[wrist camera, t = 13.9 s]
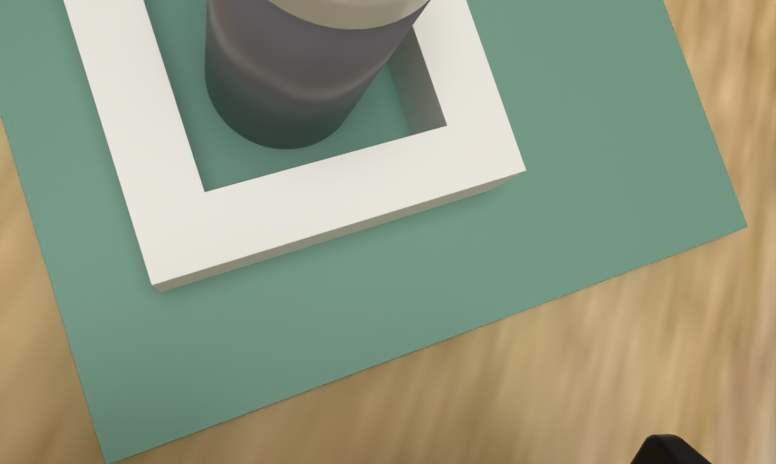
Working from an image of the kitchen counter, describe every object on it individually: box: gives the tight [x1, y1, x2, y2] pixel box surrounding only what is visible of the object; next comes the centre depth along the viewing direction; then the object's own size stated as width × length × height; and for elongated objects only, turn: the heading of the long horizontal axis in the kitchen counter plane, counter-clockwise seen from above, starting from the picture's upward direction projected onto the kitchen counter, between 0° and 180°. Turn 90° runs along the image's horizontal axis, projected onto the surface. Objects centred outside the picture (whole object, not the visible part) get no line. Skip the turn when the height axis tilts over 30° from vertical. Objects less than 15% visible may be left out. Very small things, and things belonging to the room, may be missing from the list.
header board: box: [0, 0, 748, 464], centre depth 23 cm, size 16×24×4 cm, turn 109°
